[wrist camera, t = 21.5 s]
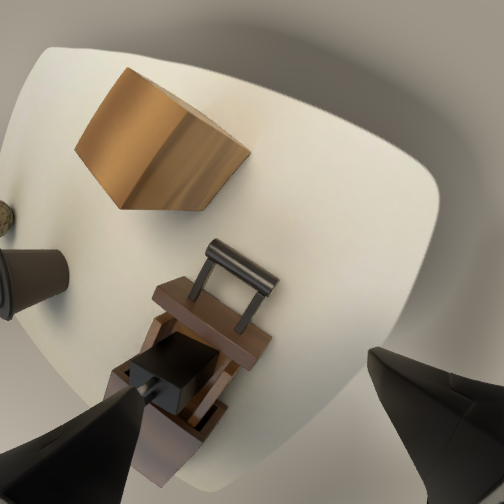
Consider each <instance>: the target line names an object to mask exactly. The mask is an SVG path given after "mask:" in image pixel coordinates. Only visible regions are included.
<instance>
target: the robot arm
mask: <svg viewBox="0 0 504 504" xmlns="http://www.w3.org/2000/svg"><path fill="white" fill-rule="evenodd" d="M367 367H368V372H369V374H370V376H371V379H372V382H373V384H374V387H375V390H376V392H377V395H378V397H379V400H380V402H381V403H382V405H383V407H384V409H385V411H386V412H387V414H388V416H389V418H390V420H391V422H392V423H393V425H394V427H395V429H396V431H397V433H398V435H399V436H400V438H401V440H402V442H403V444H404V446H405V448H406V449H407V451H408V453H409V455H410V457H411V459H412V461H413V463H414V465H415V466H416V469H417V471H418V473H419V475H420V476H421V478H422V480H423V482H424V485H425V487H426V490H427V494H428V498H427V504H504V386H499V385H494V384H489V383H485V382H480V381H476V380H472V379H469V378H465V377H462V376H459V375H456V374H453V373H449V372H446V371H443V370H440V369H438V368H435V367H432V366H429V365H426V364H424V363H421V362H418V361H415V360H413V359H410V358H407V357H404V356H402V355H399V354H396V353H394V352H391V351H389V350H386V349H384V348H381V347H375V348H371V349H369V350H368V361H367ZM144 407H145V402H144V399H143V398H142V396H141V395H140V393H139V391H138V390H137V388H136V387H134V386H127V387H125V388H123V389H121V390H120V391H118V392H117V393H115V394H113V395H112V396H110V397H108V398H107V399H105V400H104V401H102V402H100V403H99V404H97V405H95V406H94V407H92V408H90V409H89V410H87V411H85V412H84V413H82V414H80V415H79V416H77V417H75V418H74V419H72V420H70V421H68V422H67V423H65V424H63V425H61V426H59V427H57V428H55V429H54V430H52V431H50V432H48V433H46V434H44V435H42V436H40V437H38V438H36V439H34V440H32V441H29V442H27V443H25V444H23V445H20V446H18V447H16V448H13V449H11V450H9V451H6V452H4V453H2V454H0V504H120V503H121V499H122V495H123V491H124V487H125V483H126V480H127V476H128V472H129V469H130V465H131V462H132V458H133V455H134V451H135V448H136V445H137V441H138V438H139V434H140V430H141V424H142V418H143V413H144Z"/></svg>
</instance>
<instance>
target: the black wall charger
mask: <svg viewBox="0 0 504 504" xmlns="http://www.w3.org/2000/svg"><path fill="white" fill-rule="evenodd" d="M219 353H220V351H219V350H216V349H214V348H212V347H210V346H208V345H205V344H203V343H201V342H199V341H197V340H195V339H192V338H190V337H188V336H186V335H184V334H182V333H180V332H178V331H176V332H174V333H172V334H171V335H169V336H168V337H166V338H165V339H163V340H162V341H160V342H159V343H157V344H155V345H154V346H152V347H151V348H149V349H148V350H146V351H144V352H143V353H141V354H140V355H138V356H137V357H135V358H133V359H132V360H131V361H130V376H129V386H134V387H136V388H137V390H138V391H139V393H140V395H141V396H143V397H144V398H143V399H144V402H145V407H146V406H147V405H148V404H149V403H150V402H153V403H154V404H156V405H158V406H159V407H161V408H163V409H165V410H166V411H168V412H170V413H172V414H174V415H178V413H179V412H180V411H181V410H182V409H183V408H184V407H185V406H186V405H187V404H188V403H189V402H190V401H191V400H192V398H193V397H194V396H195V395H196V394H197V393H198V392H199V391H200V390H201V389H202V388H203V386H204V385H205V384H206V383H207V382H208V381H209V380H210V379H211V378H212V377H213V375H214V371H215V367H216V364H217V360H218V356H219ZM145 407H144V408H145Z"/></svg>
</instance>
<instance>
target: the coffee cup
mask: <svg viewBox="0 0 504 504" xmlns="http://www.w3.org/2000/svg"><path fill="white" fill-rule="evenodd" d="M68 283H69V271H68V266H67V262H66V260H65V258H64V256H63V254H62V253H61V252H60V251H58V250H1V249H0V317H1V318H2V319H5V320H7V321H9V320H12V317H13V315H14V314H15V313H17V312H19V311H22V310H24V309H26V308H28V307H30V306H32V305H35V304H37V303H39V302H41V301H43V300H46V299H48V298H50V297H52V296H54V295H57V294H59V293H61V292H63V291H65V290H66V288H67V286H68Z"/></svg>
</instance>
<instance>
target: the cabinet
mask: <svg viewBox="0 0 504 504" xmlns="http://www.w3.org/2000/svg"><path fill="white" fill-rule="evenodd" d="M138 355H139V354H137V355H136V356H134V357H133V358H135V357H137V356H138ZM133 358H131V359H129V360H128V361H126V362H125V363H123V364H121V365H120V366H118V367H116V368H115V369H113V370H112V372H111V375H110V378H109V382H108V385H107V388H106V392H105V395H104V399H103V401H104V400H105V399H107V398H108V397H110V396H112V395H113V394H115V393H117V392H118V391H120V390H121V389H123V388H125V387H127V386H129V376H130V361H131V360H132V359H133ZM142 398H144V397H143V396H142ZM227 409H228V406H226V405H225V404H223V403H222V402H220V401H219V400H216V401H215V403H214V404H213V405H212V407H211V408H210V409H209V411H208V412H207V413H206V415H205V416H204V417H203V419H202V420H201V421H200V422H199V424H198V425H197V426H196V427H195V429H194V428H193V427H191V426H190V425H188V424H187V423H186V422H184V421H183V420H181V419H180V418H179V417H177V416H176V415H174V414H172V413H170V412H168V411H166V410H165V409H163V408H161V407H159V406H158V405H156V404H154V403H153V402H150V403H149V404H148V405H147V406H146V407H145V408H144V413H143V418H142V424H141V430H140V434H139V438H138V441H137V445H136V448H135V451H134V455H133V458H132V462H131V465H130V466H132V467H133V468H134V469H136V470H137V471H138V472H140V473H141V474H142V475H144V476H145V477H146V478H147V479H149V480H150V481H152V482H153V483H154V484H156V485H157V486H159V487H160V488H162V487H163V486H164V484H165V483H166V482H167V481H168V480H169V479H170V478H171V477H172V476H173V475H174V474H175V473H176V472H177V471H178V470H179V469H180V468H181V467H182V466H183V465H184V464H185V463H186V461H187V460H188V459H189V458H190V457H191V456H192V455H193V454H194V453H195V452H196V451H197V449H198V448H199V447H200V446H201V445H202V444H203V443H204V441H205V440H206V439H207V437H208V436H209V434H210V433H211V432H212V430H213V429H214V427H215V426H216V425H217V423H218V422H219V420H220V419H221V417H222V416H223V415H224V413H225V412H226V410H227Z"/></svg>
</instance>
